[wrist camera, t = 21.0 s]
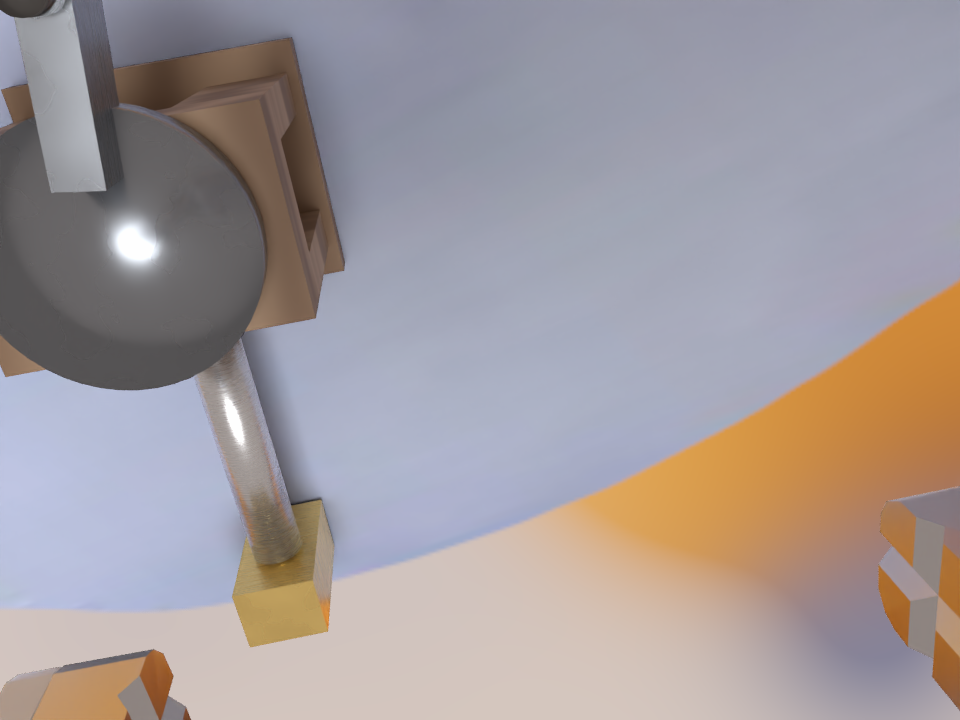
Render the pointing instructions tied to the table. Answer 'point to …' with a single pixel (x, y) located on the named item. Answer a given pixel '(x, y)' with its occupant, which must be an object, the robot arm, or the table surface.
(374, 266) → the table surface
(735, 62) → the table surface
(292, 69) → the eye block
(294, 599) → the gold cube on rod
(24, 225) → the handwheel
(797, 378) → the table surface
